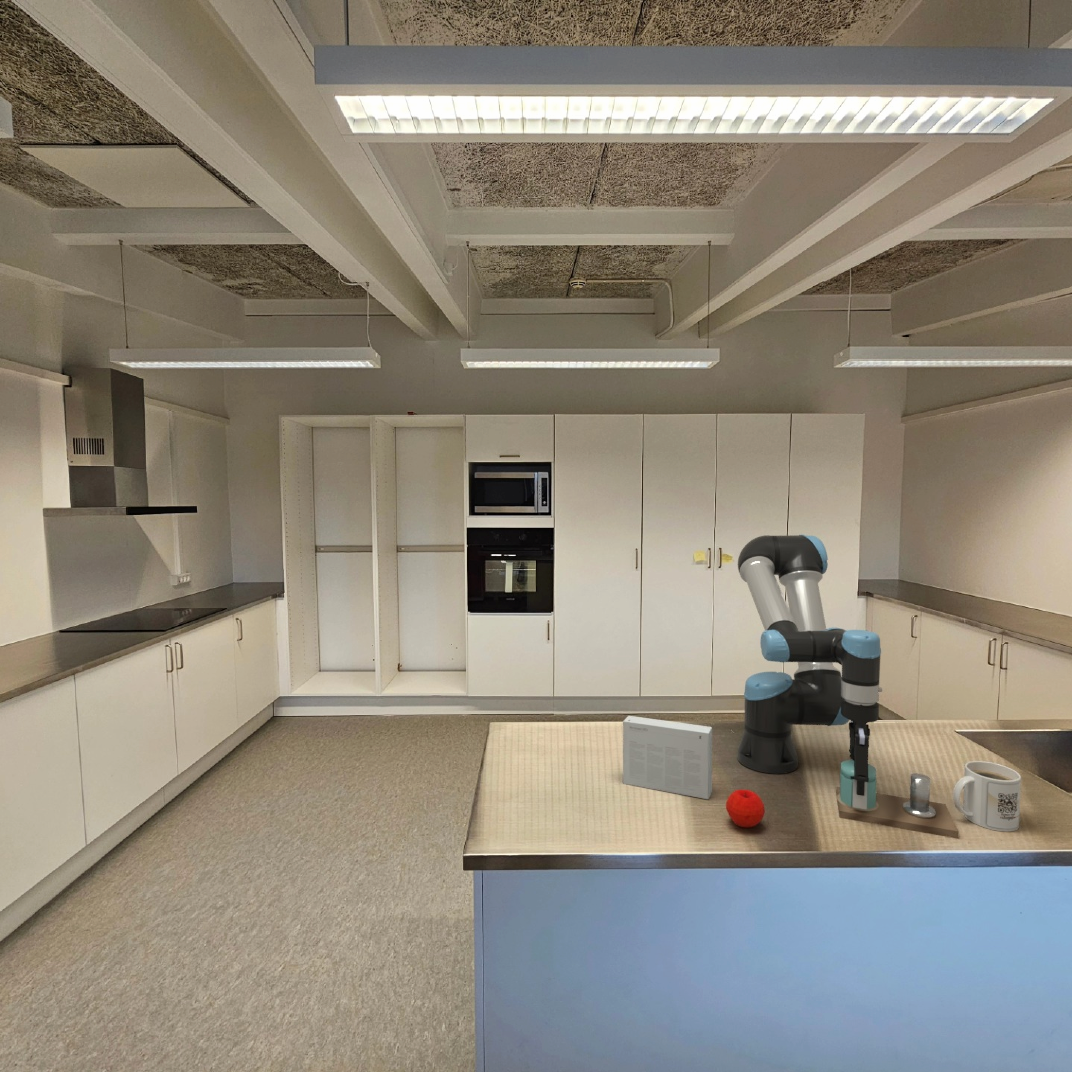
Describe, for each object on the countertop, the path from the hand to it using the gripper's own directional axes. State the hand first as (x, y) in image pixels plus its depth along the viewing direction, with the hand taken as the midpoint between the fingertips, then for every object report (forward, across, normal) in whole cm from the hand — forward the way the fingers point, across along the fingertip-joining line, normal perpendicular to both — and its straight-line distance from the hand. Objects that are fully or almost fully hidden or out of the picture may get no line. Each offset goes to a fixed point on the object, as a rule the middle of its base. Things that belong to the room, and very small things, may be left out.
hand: (857, 797), depth 138 cm
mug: (+3, +5, -25) cm, 26 cm away
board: (+2, 0, -7) cm, 7 cm away
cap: (+1, 0, 0) cm, 1 cm away
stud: (+1, 0, -12) cm, 12 cm away
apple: (+3, -17, +23) cm, 29 cm away
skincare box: (+3, -6, +42) cm, 43 cm away
